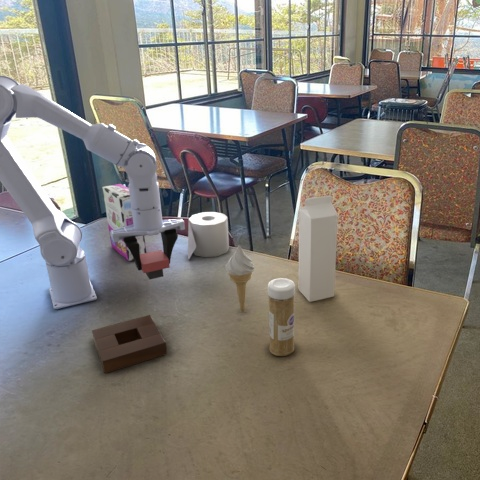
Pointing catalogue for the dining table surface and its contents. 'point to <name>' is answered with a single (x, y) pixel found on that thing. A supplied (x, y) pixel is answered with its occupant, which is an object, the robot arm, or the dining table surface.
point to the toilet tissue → (208, 234)
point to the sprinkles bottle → (281, 316)
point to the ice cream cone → (240, 273)
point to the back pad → (154, 263)
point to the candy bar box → (120, 217)
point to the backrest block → (130, 352)
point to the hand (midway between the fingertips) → (153, 265)
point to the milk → (317, 248)
